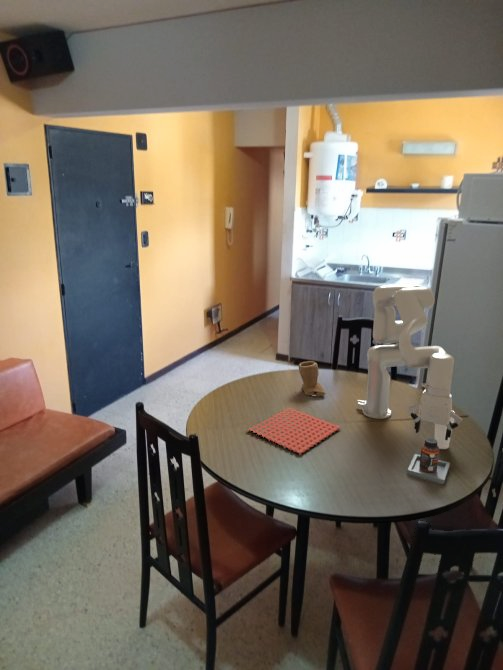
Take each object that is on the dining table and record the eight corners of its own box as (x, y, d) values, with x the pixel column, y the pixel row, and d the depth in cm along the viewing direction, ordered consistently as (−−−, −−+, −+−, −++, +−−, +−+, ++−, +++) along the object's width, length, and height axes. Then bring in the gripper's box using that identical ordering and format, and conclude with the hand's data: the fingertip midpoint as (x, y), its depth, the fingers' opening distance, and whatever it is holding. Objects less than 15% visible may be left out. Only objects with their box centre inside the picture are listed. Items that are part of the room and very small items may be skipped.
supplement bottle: (435, 475, 159) (438, 446, 156) (417, 470, 162) (420, 441, 159) (438, 467, 164) (441, 438, 161) (421, 462, 167) (424, 434, 164)
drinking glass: (442, 452, 175) (446, 416, 171) (428, 444, 181) (432, 409, 176) (454, 448, 178) (459, 412, 174) (440, 440, 184) (444, 405, 179)
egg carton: (341, 431, 193) (341, 426, 192) (300, 458, 173) (300, 453, 173) (288, 411, 211) (288, 406, 211) (246, 433, 192) (246, 429, 191)
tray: (407, 474, 161) (407, 469, 161) (414, 458, 171) (415, 453, 171) (443, 485, 155) (444, 480, 155) (449, 467, 165) (449, 462, 165)
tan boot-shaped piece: (296, 386, 237) (297, 358, 233) (319, 385, 238) (320, 357, 233) (301, 398, 223) (301, 369, 218) (325, 397, 223) (326, 368, 219)
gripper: (408, 388, 155) (403, 433, 161) (464, 399, 147) (457, 446, 152) (413, 380, 162) (408, 424, 167) (467, 391, 153) (460, 436, 159)
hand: (431, 434), depth 160 cm, fingers open, 9 cm apart
